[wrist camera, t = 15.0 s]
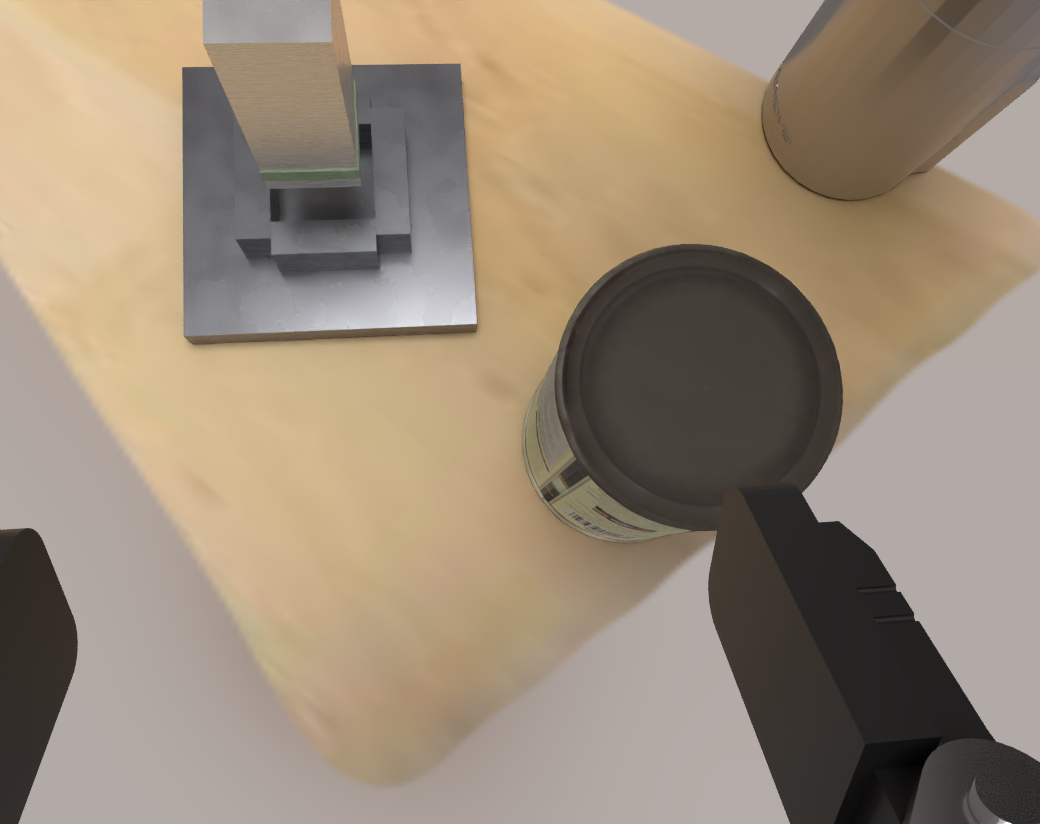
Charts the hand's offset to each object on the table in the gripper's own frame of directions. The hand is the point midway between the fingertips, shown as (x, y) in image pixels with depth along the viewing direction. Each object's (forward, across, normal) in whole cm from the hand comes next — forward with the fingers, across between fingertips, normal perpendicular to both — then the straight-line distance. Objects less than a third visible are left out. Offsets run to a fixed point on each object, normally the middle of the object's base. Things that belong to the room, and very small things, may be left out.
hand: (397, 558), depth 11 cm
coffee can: (+27, -10, +19) cm, 35 cm away
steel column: (+32, +4, +5) cm, 32 cm away
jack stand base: (+36, +4, +10) cm, 38 cm away
